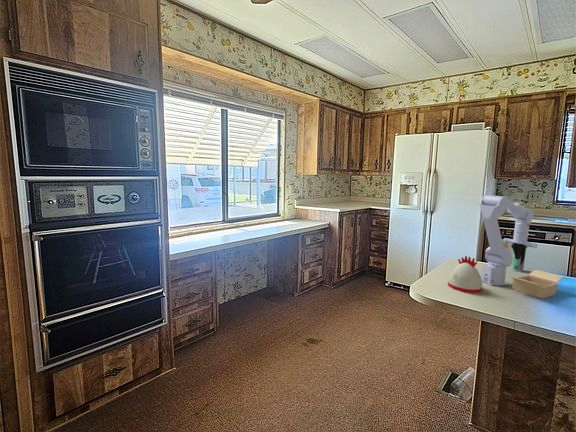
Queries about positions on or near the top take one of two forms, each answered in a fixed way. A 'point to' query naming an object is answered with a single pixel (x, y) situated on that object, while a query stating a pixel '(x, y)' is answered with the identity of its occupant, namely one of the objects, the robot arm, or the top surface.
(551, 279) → the far flap
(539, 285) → the near flap
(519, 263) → the spray can
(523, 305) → the top surface
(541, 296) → the carton
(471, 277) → the kitchen timer
